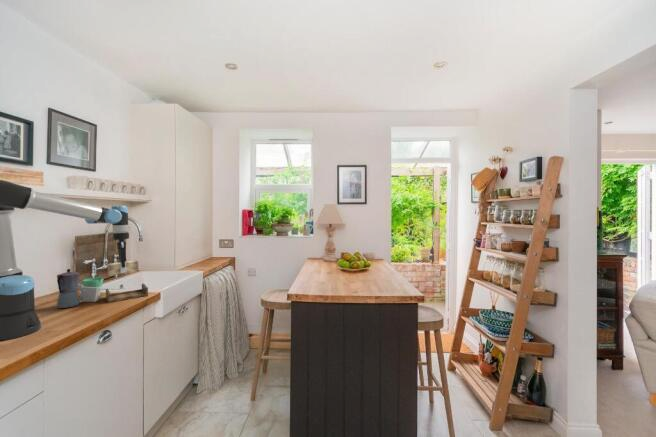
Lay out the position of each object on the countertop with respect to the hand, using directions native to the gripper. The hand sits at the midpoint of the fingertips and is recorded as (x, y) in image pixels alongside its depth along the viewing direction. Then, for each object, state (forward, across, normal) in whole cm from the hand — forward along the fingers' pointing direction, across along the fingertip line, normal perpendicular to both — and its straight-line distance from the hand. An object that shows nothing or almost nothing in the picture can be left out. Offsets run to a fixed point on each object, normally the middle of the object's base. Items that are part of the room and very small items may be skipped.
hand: (123, 272), depth 164 cm
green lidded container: (+16, +23, +13) cm, 31 cm away
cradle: (+16, +4, -2) cm, 16 cm away
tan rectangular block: (+1, 0, 0) cm, 1 cm away
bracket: (+16, +9, +16) cm, 25 cm away
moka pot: (+16, +4, +24) cm, 29 cm away
